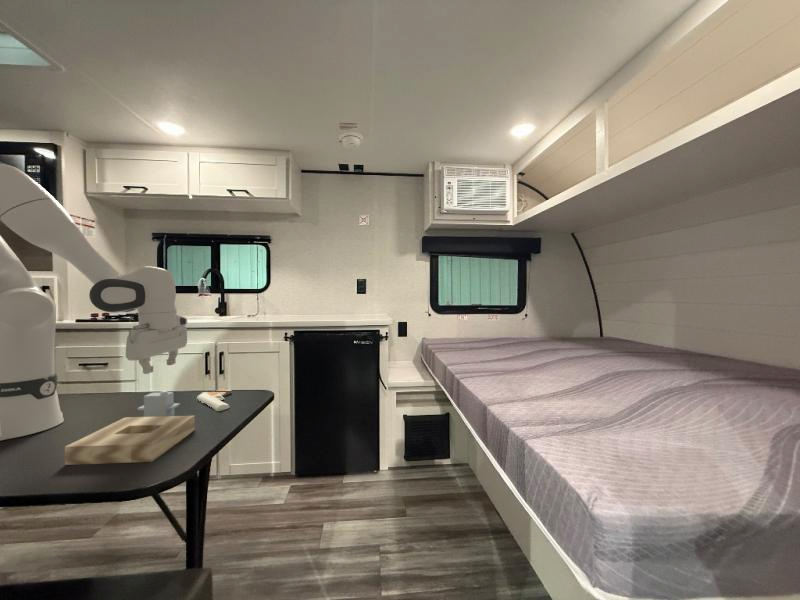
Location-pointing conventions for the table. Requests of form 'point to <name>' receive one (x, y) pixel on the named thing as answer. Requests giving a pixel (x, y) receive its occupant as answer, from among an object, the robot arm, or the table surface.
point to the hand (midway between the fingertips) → (160, 368)
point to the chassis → (130, 440)
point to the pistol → (214, 399)
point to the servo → (159, 404)
